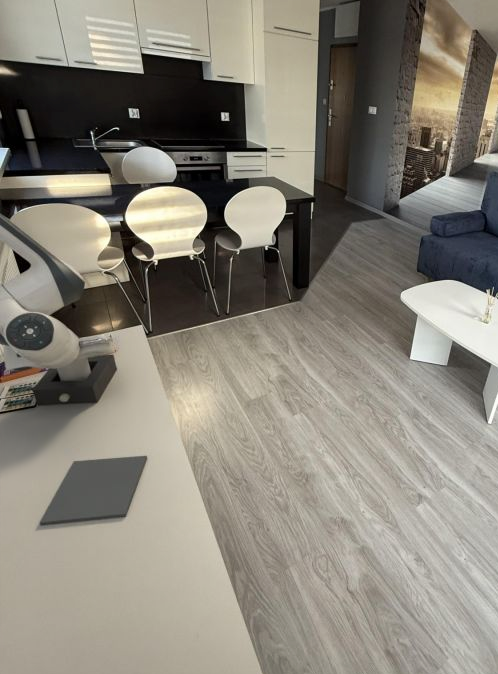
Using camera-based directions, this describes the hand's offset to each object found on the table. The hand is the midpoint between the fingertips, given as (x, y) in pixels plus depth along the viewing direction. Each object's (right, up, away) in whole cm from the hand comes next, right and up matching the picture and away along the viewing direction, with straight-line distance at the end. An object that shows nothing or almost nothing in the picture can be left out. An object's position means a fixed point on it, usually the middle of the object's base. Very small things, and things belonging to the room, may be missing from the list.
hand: (71, 357), depth 98 cm
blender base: (0, -8, +3) cm, 9 cm away
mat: (+21, -22, -21) cm, 37 cm away
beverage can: (0, -7, +3) cm, 7 cm away
